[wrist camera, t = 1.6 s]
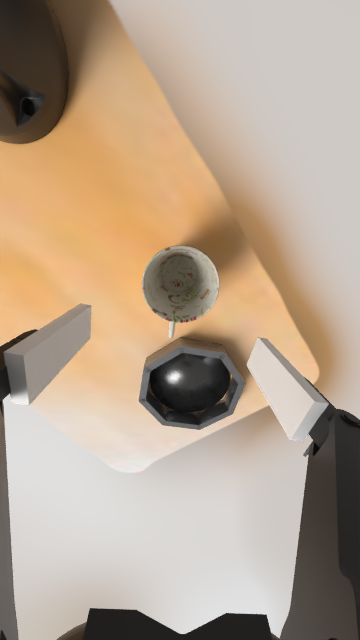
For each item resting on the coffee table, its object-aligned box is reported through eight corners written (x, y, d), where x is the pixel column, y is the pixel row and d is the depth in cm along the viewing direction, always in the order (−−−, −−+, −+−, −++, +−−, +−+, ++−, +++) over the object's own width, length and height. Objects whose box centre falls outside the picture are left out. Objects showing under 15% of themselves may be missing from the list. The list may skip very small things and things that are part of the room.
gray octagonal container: (150, 332, 33) (148, 340, 30) (249, 349, 35) (255, 358, 32) (138, 409, 40) (135, 421, 37) (221, 420, 41) (225, 432, 38)
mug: (210, 249, 28) (227, 251, 19) (197, 325, 33) (205, 357, 23) (154, 241, 27) (143, 240, 18) (149, 320, 32) (138, 351, 23)
